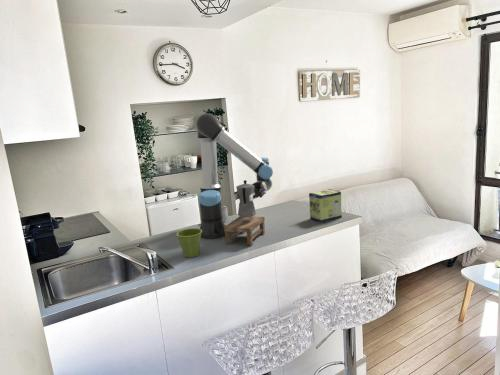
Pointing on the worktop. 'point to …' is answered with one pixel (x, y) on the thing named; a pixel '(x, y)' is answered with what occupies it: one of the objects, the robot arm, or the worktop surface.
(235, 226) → the stool
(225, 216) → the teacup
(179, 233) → the plant pot
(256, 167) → the robot arm
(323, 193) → the protein box
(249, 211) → the coffeepot
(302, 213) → the worktop surface
